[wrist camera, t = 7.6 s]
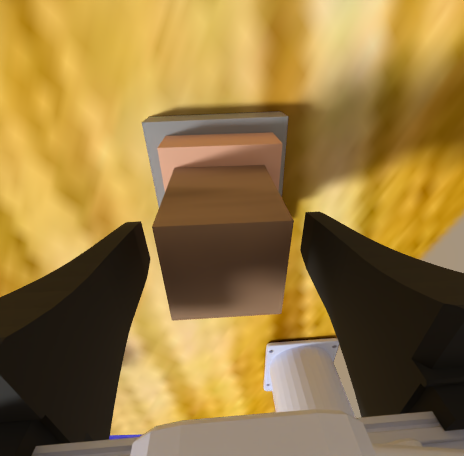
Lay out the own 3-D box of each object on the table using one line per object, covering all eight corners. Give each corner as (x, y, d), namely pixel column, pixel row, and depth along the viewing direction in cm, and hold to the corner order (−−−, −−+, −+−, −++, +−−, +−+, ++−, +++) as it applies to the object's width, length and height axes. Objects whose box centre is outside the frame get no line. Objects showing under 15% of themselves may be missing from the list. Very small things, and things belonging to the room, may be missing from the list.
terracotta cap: (266, 222, 18) (274, 244, 16) (179, 227, 17) (174, 249, 15) (272, 132, 15) (282, 143, 12) (165, 135, 14) (157, 147, 12)
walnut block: (260, 238, 15) (281, 313, 11) (184, 242, 15) (172, 320, 10) (264, 164, 13) (293, 220, 8) (174, 167, 13) (151, 227, 8)
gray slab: (271, 219, 21) (278, 236, 18) (171, 224, 20) (166, 243, 18) (278, 109, 16) (288, 116, 14) (151, 115, 16) (141, 122, 14)
